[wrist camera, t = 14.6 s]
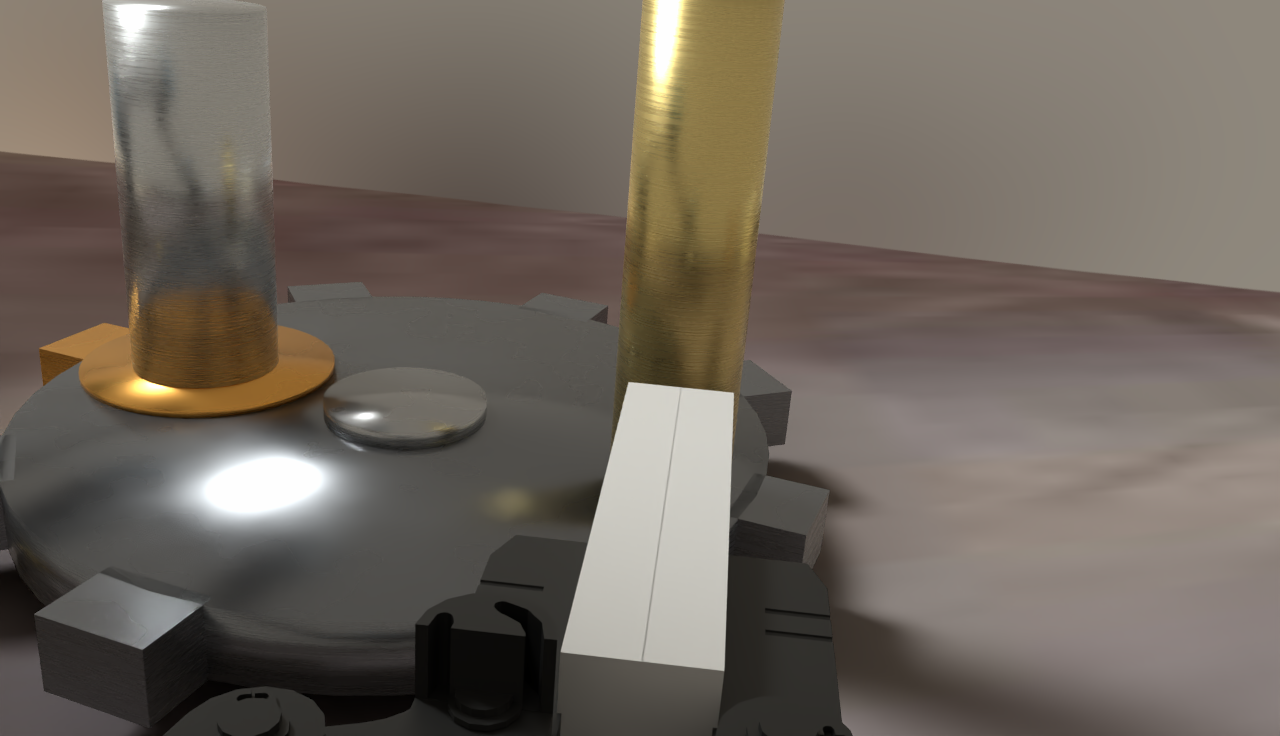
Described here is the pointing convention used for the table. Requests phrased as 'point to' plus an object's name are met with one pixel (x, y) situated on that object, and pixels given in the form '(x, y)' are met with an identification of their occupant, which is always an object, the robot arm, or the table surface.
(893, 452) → the table surface
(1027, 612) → the table surface
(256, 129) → the roller
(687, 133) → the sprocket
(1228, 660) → the table surface
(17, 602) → the table surface
